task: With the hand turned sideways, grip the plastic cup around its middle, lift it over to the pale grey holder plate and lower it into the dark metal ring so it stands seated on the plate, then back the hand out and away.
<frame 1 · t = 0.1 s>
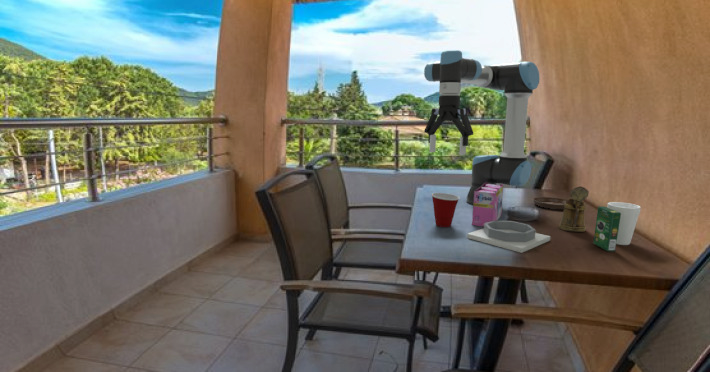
hand: (446, 153, 154), 28 cm above the table, tool pointing down, fingers open, 13 cm apart
gum box: (487, 220, 169), on the table
cup holder: (508, 239, 143), on the table
wooden mug: (572, 231, 155), on the table
plant saucer: (552, 207, 195), on the table
foam cup: (618, 242, 142), on the table
plastic cup: (443, 225, 160), on the table
coffee box: (604, 248, 136), on the table
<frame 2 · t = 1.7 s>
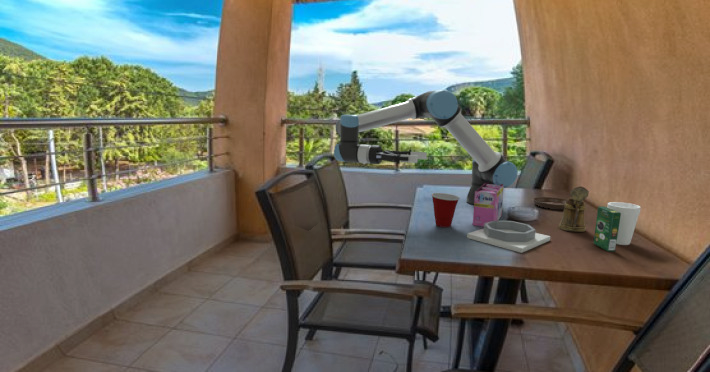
hand: (422, 157, 159), 26 cm above the table, tool horizontal, fingers open, 13 cm apart
nothing on the table moved.
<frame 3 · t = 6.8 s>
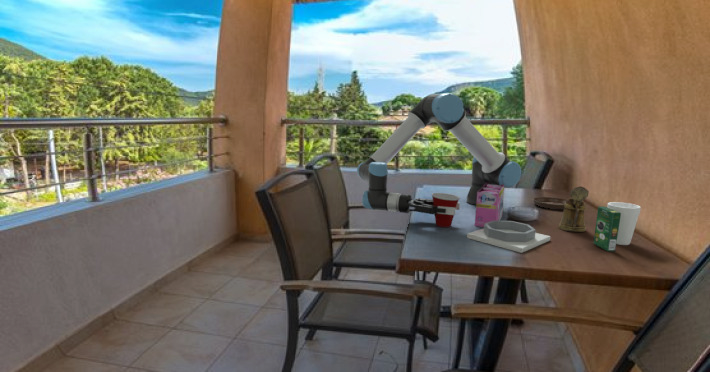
hand: (457, 208, 157), 7 cm above the table, tool horizontal, fingers closed on plastic cup, 8 cm apart
plastic cup: (444, 225, 160), on the table, touching gripper
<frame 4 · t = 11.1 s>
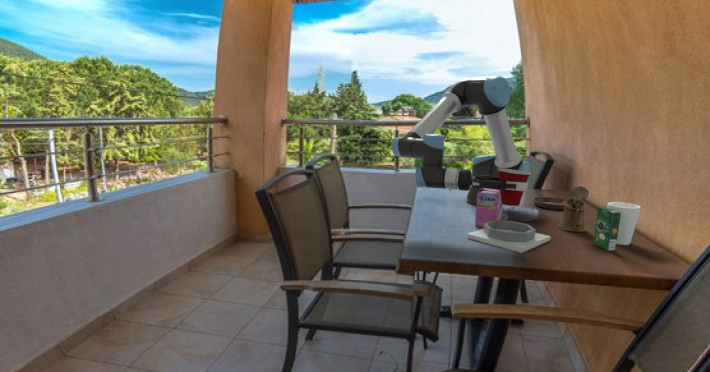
hand: (527, 184, 138), 20 cm above the table, tool horizontal, fingers closed on plastic cup, 8 cm apart
plastic cup: (511, 205, 141), point 12 cm above the table, touching gripper
when the fingers open (9 cm above the table, at t = 13.7 s): plastic cup moves 3 cm, resting on cup holder.
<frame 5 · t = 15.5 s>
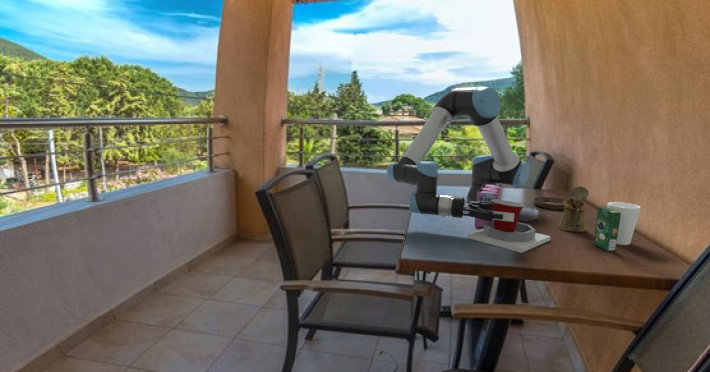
hand: (515, 212, 141), 10 cm above the table, tool horizontal, fingers open, 13 cm apart
plastic cup: (504, 236, 141), point 2 cm above the table, touching cup holder, gripper
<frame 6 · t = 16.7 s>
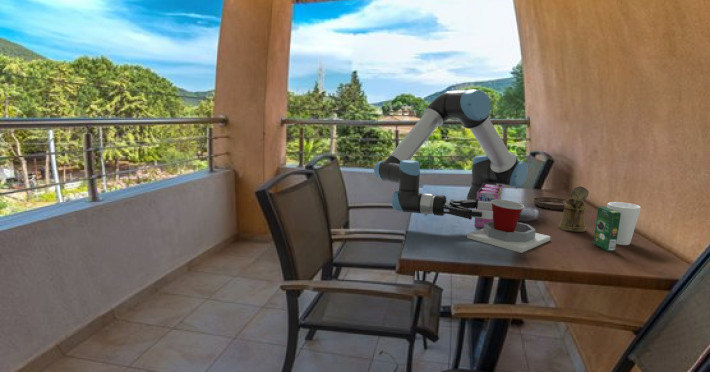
hand: (494, 210, 144), 10 cm above the table, tool horizontal, fingers open, 13 cm apart
plastic cup: (504, 237, 141), point 1 cm above the table, touching cup holder
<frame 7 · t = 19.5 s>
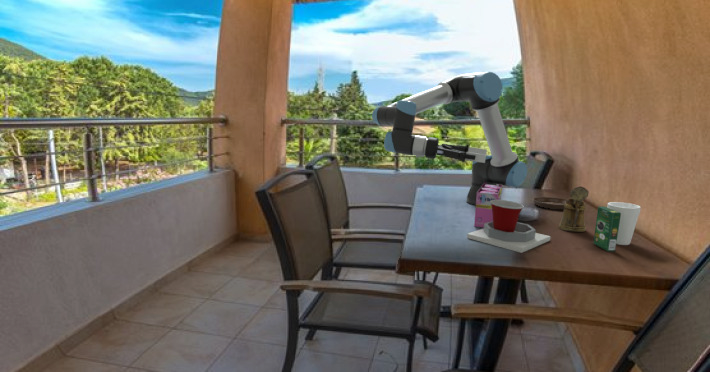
hand: (486, 156, 146), 28 cm above the table, tool horizontal, fingers open, 13 cm apart
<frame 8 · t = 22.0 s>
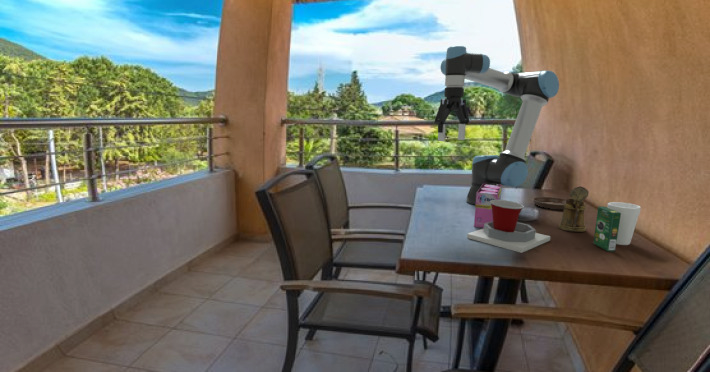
hand: (451, 140, 169), 32 cm above the table, tool pointing down, fingers open, 13 cm apart
at the end: plastic cup inside the target area on the cup holder (3.1 cm from its centre), point 1.3 cm above the cup holder's base; plastic cup tilted 0°; the gripper is holding nothing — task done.
